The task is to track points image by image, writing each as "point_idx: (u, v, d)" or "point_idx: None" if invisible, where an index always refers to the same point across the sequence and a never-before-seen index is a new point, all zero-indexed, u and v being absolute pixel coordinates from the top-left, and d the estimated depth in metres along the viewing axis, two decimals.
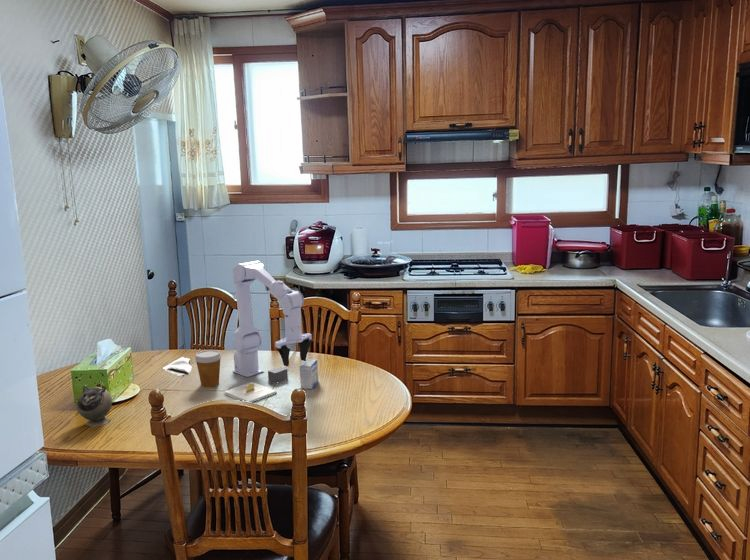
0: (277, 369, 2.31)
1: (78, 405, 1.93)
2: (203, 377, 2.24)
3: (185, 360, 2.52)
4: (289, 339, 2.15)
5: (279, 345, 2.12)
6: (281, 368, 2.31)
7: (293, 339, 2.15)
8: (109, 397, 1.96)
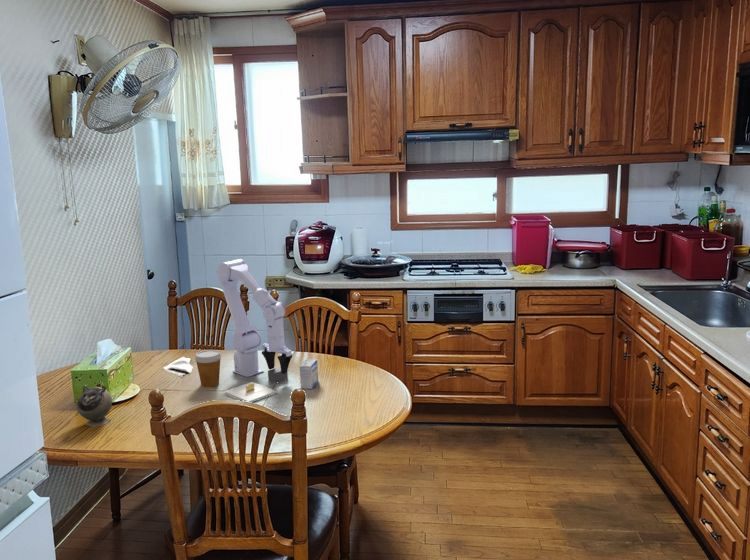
0: (277, 369, 2.31)
1: (78, 405, 1.93)
2: (203, 377, 2.24)
3: (186, 360, 2.52)
4: None
5: (262, 346, 2.32)
6: None
7: (268, 346, 2.28)
8: (109, 397, 1.96)
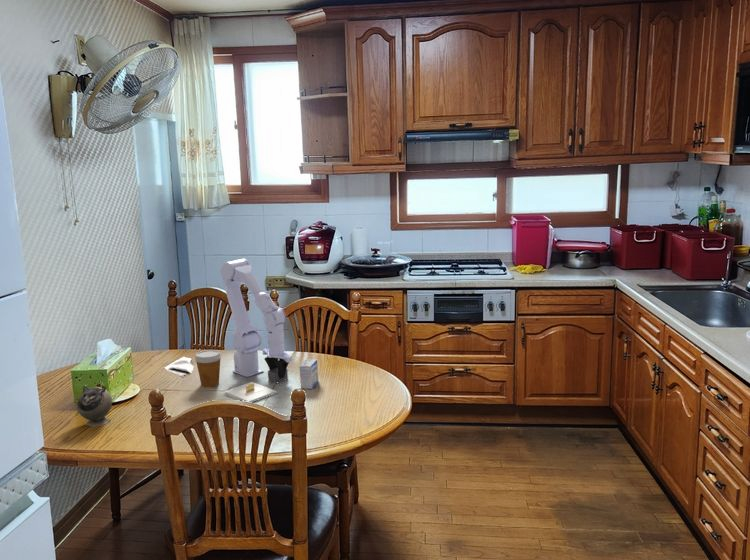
0: (277, 369, 2.31)
1: (78, 405, 1.93)
2: (203, 377, 2.24)
3: (187, 360, 2.52)
4: None
5: (263, 352, 2.33)
6: None
7: (269, 352, 2.28)
8: (109, 397, 1.96)
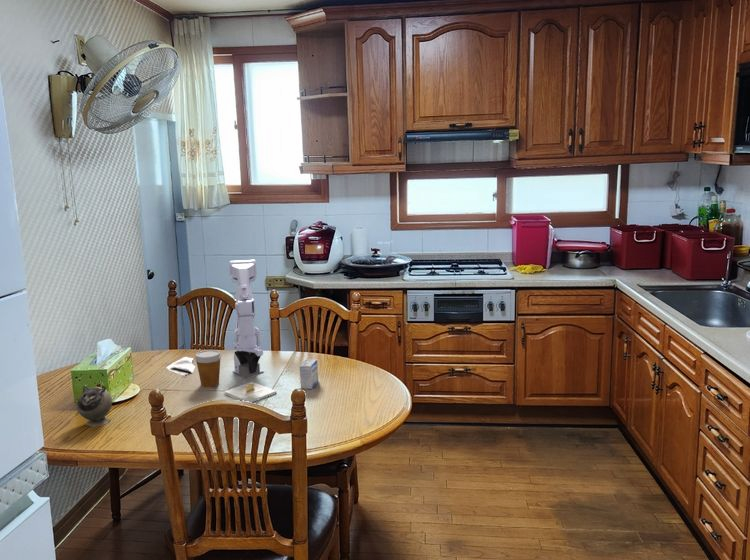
0: None
1: (78, 405, 1.93)
2: (203, 377, 2.24)
3: (188, 360, 2.52)
4: None
5: (233, 345, 2.18)
6: None
7: (239, 345, 2.14)
8: (109, 397, 1.96)
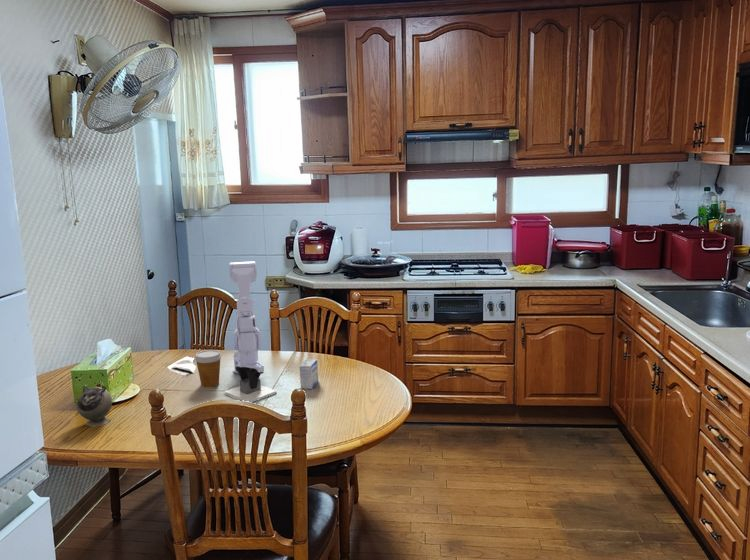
0: None
1: (78, 405, 1.93)
2: (203, 377, 2.24)
3: (189, 359, 2.52)
4: None
5: (234, 360, 2.20)
6: None
7: (240, 361, 2.15)
8: (109, 397, 1.96)
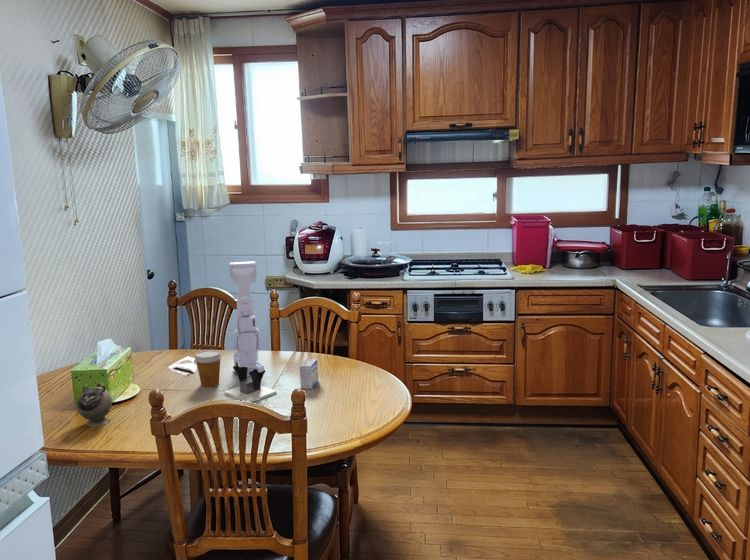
0: (249, 379, 2.18)
1: (78, 405, 1.93)
2: (203, 377, 2.24)
3: (191, 359, 2.52)
4: None
5: (234, 360, 2.20)
6: None
7: (240, 361, 2.15)
8: (109, 397, 1.96)
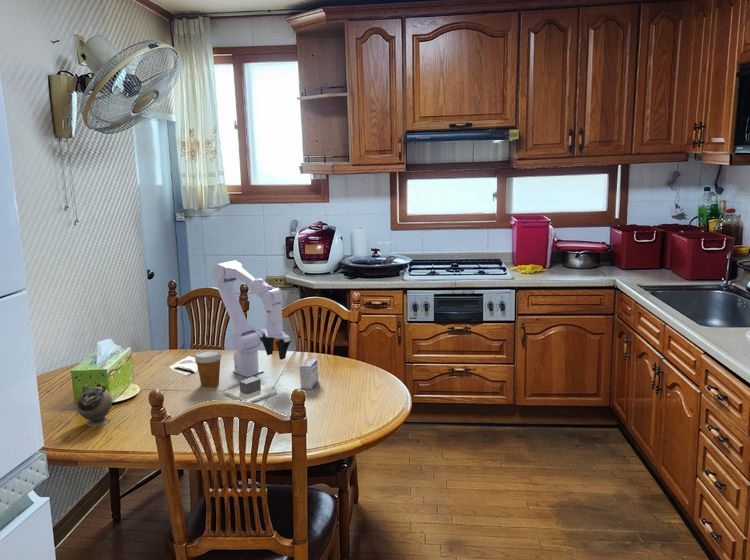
0: (249, 379, 2.18)
1: (78, 405, 1.93)
2: (203, 377, 2.24)
3: (192, 359, 2.53)
4: None
5: (261, 332, 2.31)
6: (254, 378, 2.18)
7: (267, 332, 2.27)
8: (109, 397, 1.96)
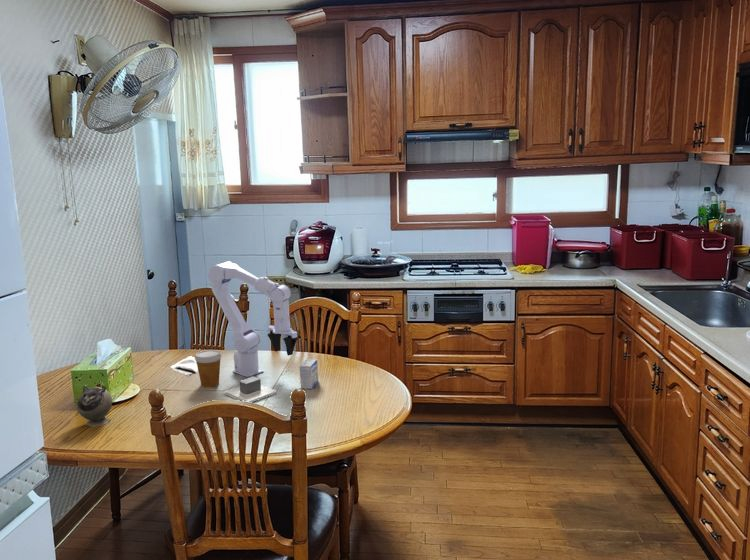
0: (249, 379, 2.18)
1: (78, 405, 1.93)
2: (203, 377, 2.24)
3: (193, 359, 2.53)
4: None
5: (268, 328, 2.35)
6: (254, 378, 2.18)
7: (274, 328, 2.30)
8: (109, 397, 1.96)
